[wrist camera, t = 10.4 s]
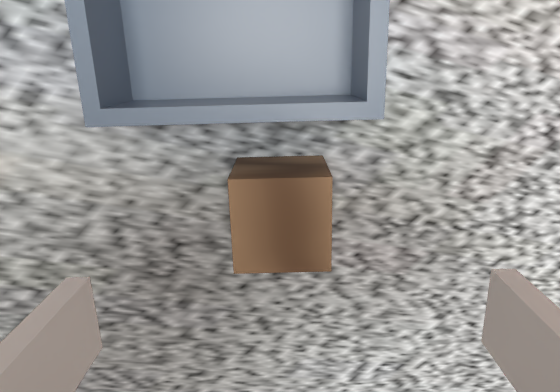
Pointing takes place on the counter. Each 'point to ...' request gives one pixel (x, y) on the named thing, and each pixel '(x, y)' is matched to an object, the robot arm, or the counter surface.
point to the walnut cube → (281, 214)
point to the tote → (229, 60)
